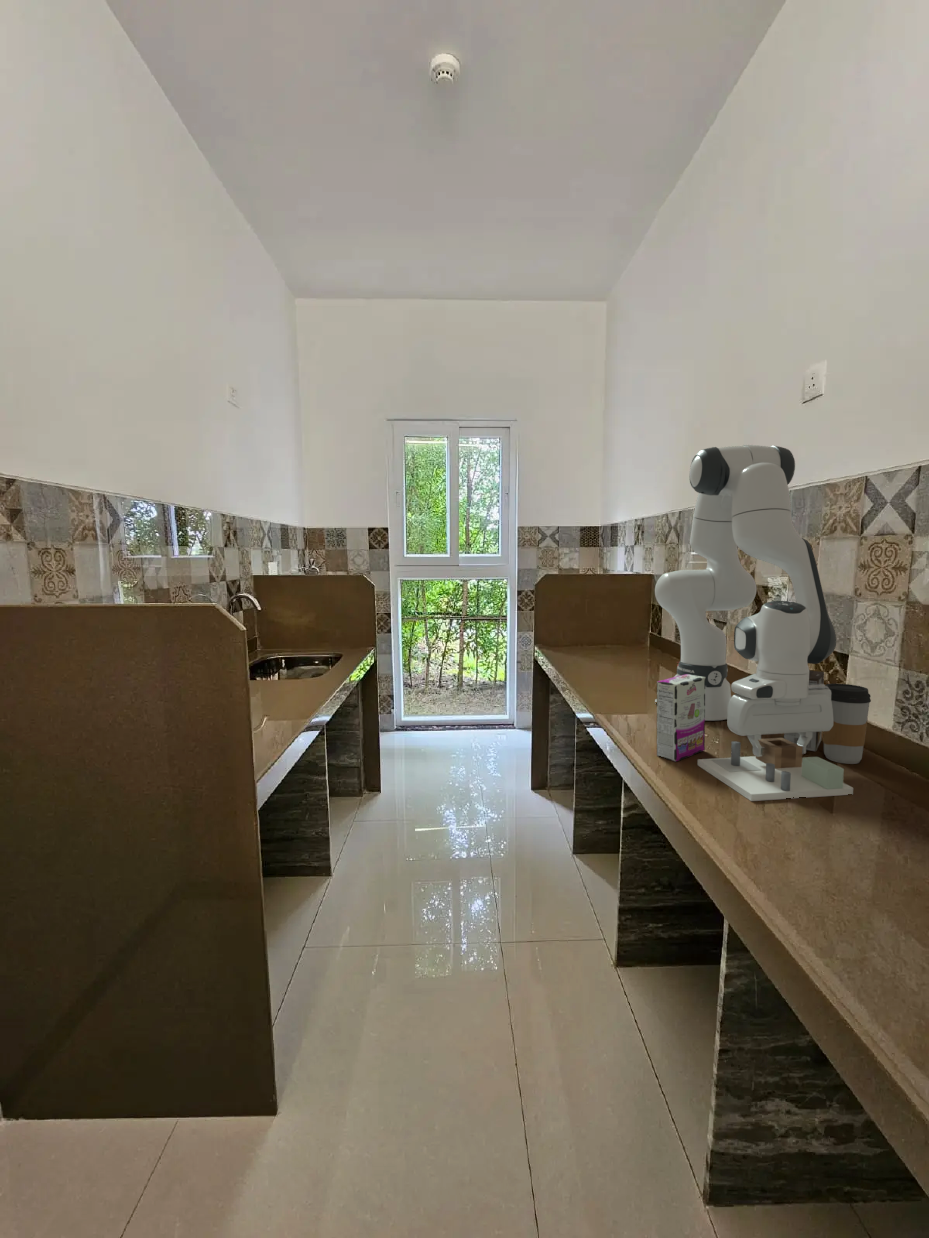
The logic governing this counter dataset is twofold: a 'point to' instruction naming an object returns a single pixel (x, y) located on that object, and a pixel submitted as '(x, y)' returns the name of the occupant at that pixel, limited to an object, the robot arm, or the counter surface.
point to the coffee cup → (847, 723)
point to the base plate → (764, 778)
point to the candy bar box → (680, 716)
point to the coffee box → (813, 744)
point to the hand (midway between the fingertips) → (779, 754)
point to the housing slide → (822, 772)
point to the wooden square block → (781, 753)
